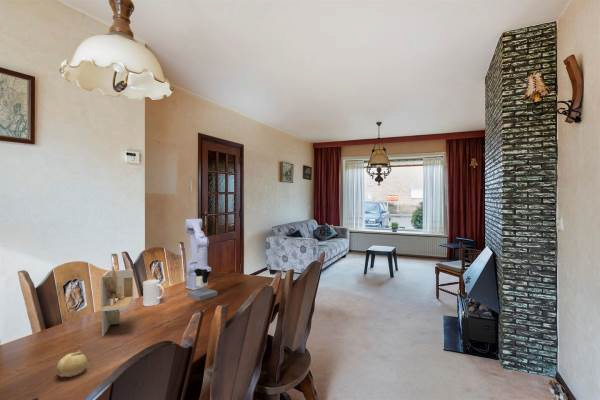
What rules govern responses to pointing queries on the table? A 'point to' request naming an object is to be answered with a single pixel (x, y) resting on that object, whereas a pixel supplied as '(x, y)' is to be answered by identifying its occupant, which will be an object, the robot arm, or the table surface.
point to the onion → (71, 364)
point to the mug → (151, 292)
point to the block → (200, 281)
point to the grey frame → (115, 295)
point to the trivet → (202, 294)
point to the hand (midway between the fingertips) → (202, 282)
